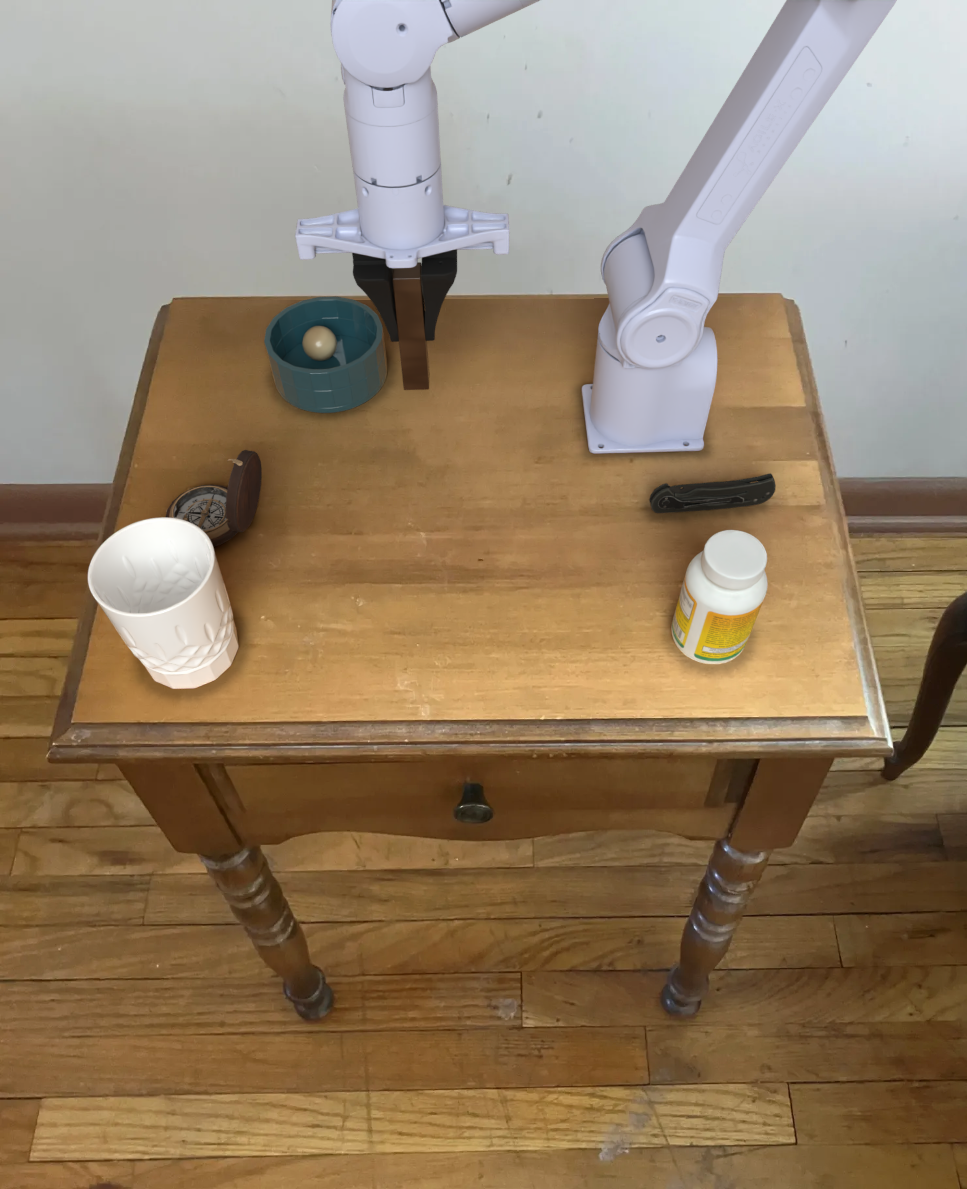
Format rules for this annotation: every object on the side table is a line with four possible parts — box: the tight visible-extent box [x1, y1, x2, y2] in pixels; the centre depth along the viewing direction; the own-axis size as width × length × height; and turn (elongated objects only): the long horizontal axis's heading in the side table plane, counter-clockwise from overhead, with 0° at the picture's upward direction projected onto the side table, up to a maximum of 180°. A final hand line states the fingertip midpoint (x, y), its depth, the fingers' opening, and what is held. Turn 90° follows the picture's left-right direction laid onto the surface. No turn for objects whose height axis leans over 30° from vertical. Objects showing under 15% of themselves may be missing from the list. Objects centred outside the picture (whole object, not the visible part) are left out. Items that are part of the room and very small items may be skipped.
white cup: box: [87, 516, 239, 690], centre depth 65 cm, size 8×8×10 cm
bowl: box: [263, 295, 388, 414], centre depth 84 cm, size 10×10×4 cm
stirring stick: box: [392, 261, 430, 391], centre depth 73 cm, size 2×2×10 cm
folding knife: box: [648, 472, 777, 514], centre depth 75 cm, size 10×1×3 cm, turn 96°
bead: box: [302, 326, 337, 361], centre depth 85 cm, size 3×3×3 cm
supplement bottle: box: [670, 529, 769, 665], centre depth 66 cm, size 5×5×10 cm
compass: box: [165, 449, 263, 548], centre depth 73 cm, size 8×8×7 cm
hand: (412, 332), depth 74 cm, fingers closed on stirring stick, 2 cm apart
